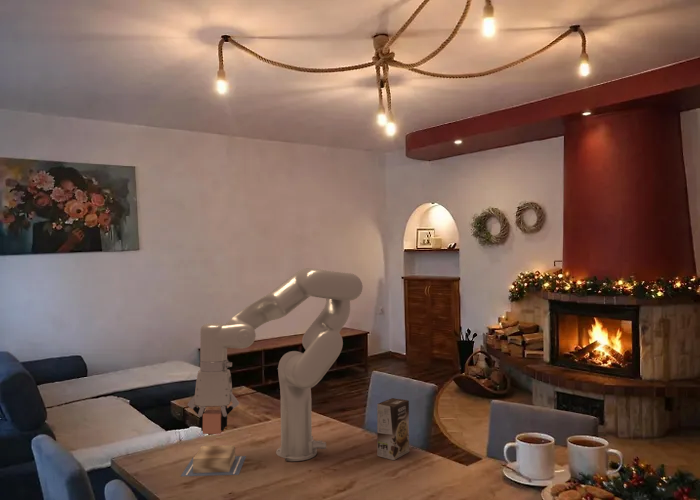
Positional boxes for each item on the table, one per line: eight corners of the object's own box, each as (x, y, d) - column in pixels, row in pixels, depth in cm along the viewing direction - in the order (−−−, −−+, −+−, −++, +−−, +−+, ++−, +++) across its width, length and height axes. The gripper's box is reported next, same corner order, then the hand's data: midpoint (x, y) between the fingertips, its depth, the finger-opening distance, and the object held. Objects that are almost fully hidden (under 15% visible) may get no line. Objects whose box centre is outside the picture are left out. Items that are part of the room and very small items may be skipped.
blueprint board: (246, 459, 165) (246, 455, 165) (238, 478, 151) (238, 474, 151) (192, 460, 164) (192, 457, 164) (180, 479, 150) (180, 475, 150)
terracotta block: (223, 428, 160) (223, 409, 160) (220, 433, 155) (220, 414, 155) (206, 428, 160) (206, 409, 160) (202, 433, 155) (202, 414, 155)
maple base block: (235, 458, 163) (235, 445, 163) (229, 472, 153) (229, 457, 153) (201, 459, 162) (201, 446, 162) (193, 473, 152) (193, 458, 152)
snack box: (394, 461, 162) (393, 406, 162) (376, 456, 166) (376, 403, 166) (410, 451, 170) (409, 400, 170) (392, 447, 173) (392, 396, 174)
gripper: (245, 363, 162) (244, 425, 162) (187, 364, 161) (186, 425, 161) (241, 368, 154) (240, 433, 154) (180, 369, 154) (180, 433, 153)
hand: (213, 428), depth 158 cm, fingers closed on terracotta block, 4 cm apart
